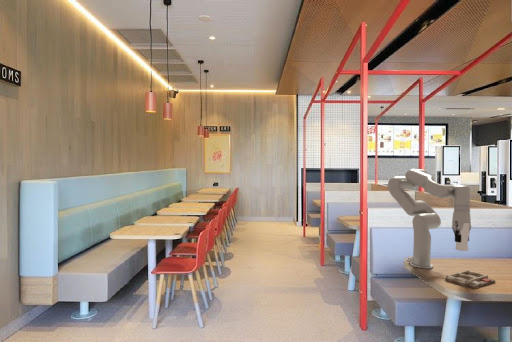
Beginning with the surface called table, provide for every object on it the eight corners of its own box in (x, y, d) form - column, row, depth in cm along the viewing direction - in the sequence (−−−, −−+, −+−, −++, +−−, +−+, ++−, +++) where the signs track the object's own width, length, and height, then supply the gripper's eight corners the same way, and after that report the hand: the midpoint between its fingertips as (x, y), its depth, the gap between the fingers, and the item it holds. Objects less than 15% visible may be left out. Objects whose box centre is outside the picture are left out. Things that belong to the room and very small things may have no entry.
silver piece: (472, 251, 193) (472, 223, 193) (459, 251, 193) (459, 222, 193) (464, 248, 200) (464, 221, 200) (451, 248, 200) (451, 221, 200)
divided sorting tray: (444, 280, 193) (444, 275, 192) (466, 274, 203) (466, 269, 203) (473, 288, 180) (474, 283, 180) (495, 282, 190) (495, 277, 190)
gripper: (464, 207, 204) (464, 239, 204) (445, 208, 196) (445, 241, 196) (478, 208, 198) (478, 241, 197) (459, 209, 189) (459, 244, 189)
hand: (461, 241), depth 197 cm, fingers closed on silver piece, 6 cm apart
